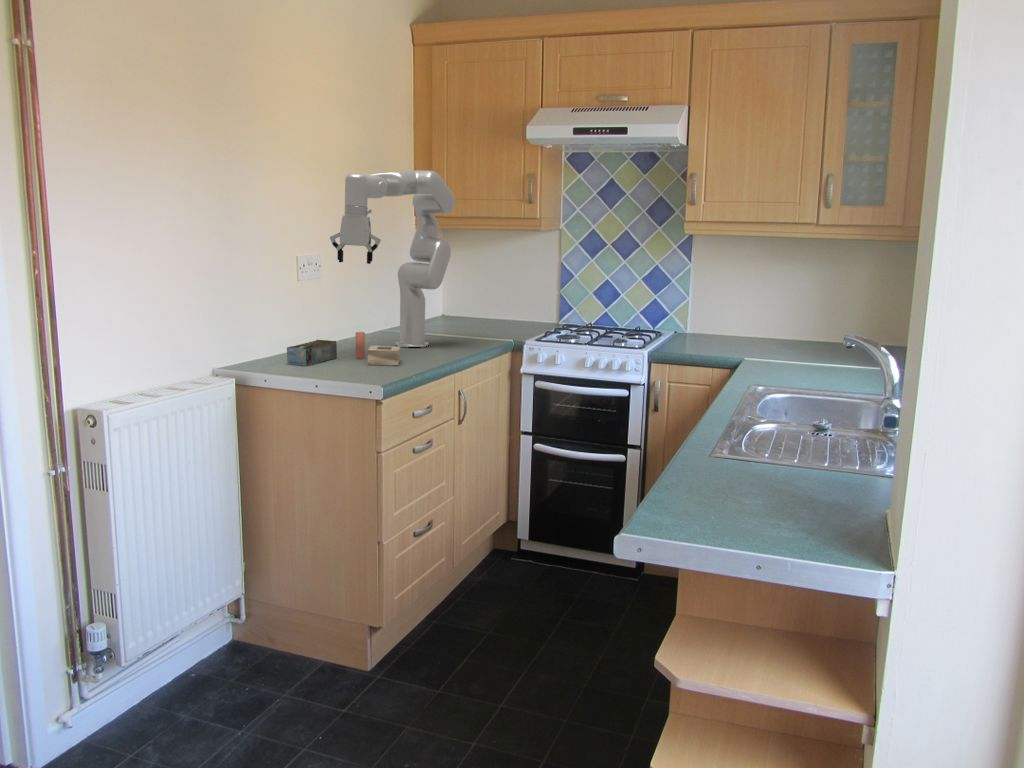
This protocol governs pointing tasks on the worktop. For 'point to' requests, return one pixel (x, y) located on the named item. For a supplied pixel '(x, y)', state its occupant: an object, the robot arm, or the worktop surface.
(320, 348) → the weathered blue-grey brick
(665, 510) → the worktop surface
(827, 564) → the worktop surface
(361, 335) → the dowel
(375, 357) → the socket block
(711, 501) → the worktop surface
